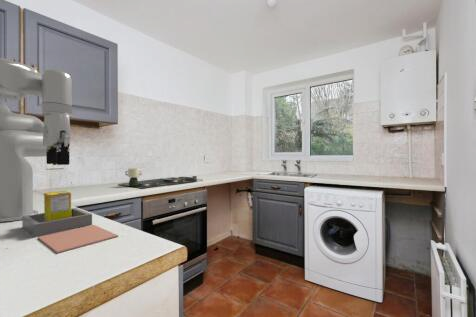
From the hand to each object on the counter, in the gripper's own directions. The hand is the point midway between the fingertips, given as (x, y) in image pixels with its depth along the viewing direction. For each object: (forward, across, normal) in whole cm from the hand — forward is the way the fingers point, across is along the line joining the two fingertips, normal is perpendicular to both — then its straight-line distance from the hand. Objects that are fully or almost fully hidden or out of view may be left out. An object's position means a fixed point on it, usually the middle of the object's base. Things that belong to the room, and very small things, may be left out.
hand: (57, 164), depth 74 cm
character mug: (+20, -69, +64) cm, 96 cm away
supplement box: (+20, 0, 0) cm, 20 cm away
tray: (+20, 0, 0) cm, 20 cm away
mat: (+20, +17, 0) cm, 26 cm away
